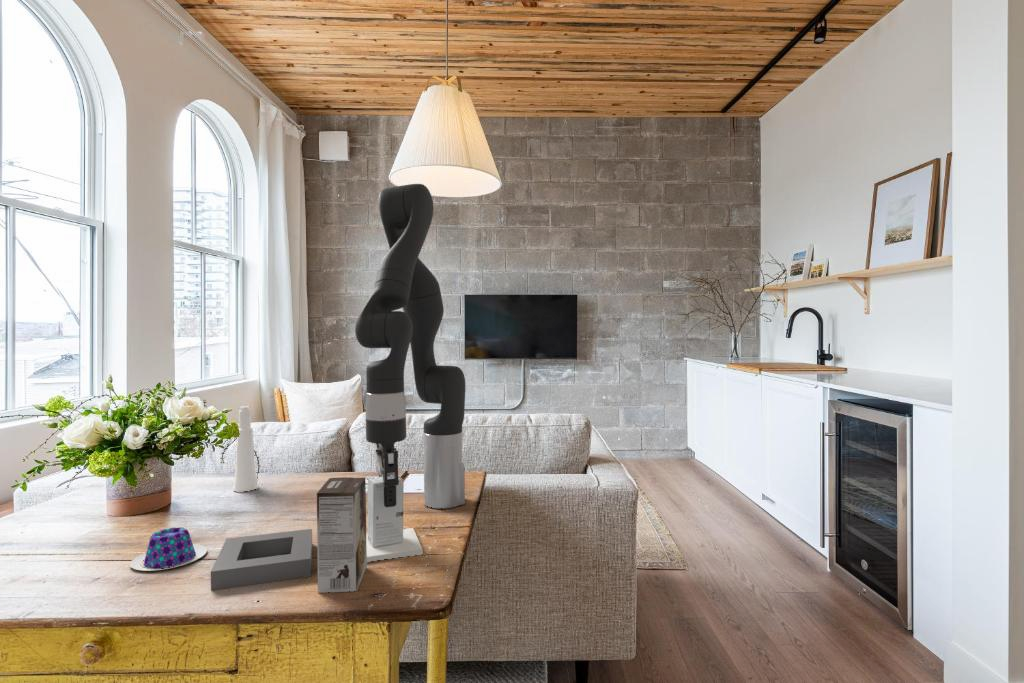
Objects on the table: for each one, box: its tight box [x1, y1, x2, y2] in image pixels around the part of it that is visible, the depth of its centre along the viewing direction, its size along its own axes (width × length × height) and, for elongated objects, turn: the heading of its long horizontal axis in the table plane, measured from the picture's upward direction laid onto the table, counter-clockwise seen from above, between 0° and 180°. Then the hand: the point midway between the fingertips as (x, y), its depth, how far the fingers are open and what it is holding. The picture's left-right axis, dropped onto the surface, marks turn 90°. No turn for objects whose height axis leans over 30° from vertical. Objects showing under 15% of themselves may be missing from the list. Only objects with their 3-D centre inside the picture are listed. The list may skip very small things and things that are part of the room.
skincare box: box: [367, 475, 405, 547], centre depth 105 cm, size 6×4×12 cm
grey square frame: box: [210, 528, 313, 591], centre depth 97 cm, size 15×15×3 cm
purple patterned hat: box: [129, 527, 208, 572], centre depth 100 cm, size 12×12×5 cm
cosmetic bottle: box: [232, 405, 259, 493], centre depth 145 cm, size 6×6×22 cm
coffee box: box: [316, 476, 368, 594], centre depth 91 cm, size 9×6×16 cm
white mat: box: [366, 527, 424, 563], centre depth 105 cm, size 12×12×1 cm
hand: (387, 499), depth 105 cm, fingers open, 8 cm apart
